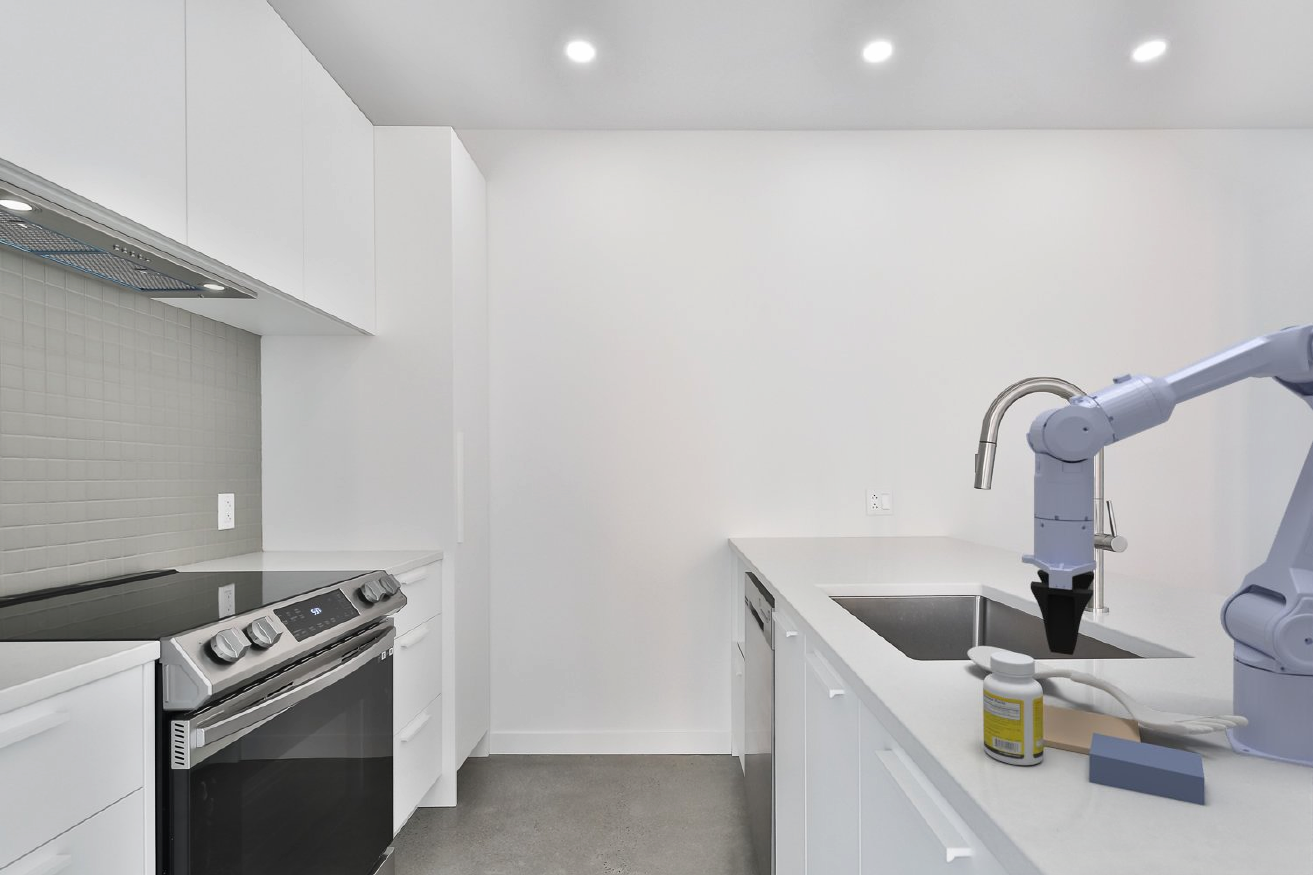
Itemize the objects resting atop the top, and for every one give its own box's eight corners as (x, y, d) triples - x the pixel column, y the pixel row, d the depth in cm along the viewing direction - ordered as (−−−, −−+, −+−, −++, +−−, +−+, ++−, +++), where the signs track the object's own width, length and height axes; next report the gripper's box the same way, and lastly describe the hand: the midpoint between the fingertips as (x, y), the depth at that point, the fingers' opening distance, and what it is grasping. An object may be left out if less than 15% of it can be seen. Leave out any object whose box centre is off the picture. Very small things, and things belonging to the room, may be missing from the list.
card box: (1200, 786, 67) (1200, 754, 67) (1204, 812, 62) (1204, 777, 62) (1093, 763, 72) (1093, 732, 72) (1089, 785, 67) (1089, 753, 67)
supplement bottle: (1024, 742, 75) (1024, 648, 75) (1055, 766, 70) (1055, 665, 70) (973, 743, 75) (973, 649, 75) (999, 767, 70) (1000, 666, 70)
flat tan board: (1137, 725, 80) (1137, 720, 80) (1142, 765, 70) (1142, 758, 70) (997, 701, 87) (997, 696, 87) (985, 733, 78) (985, 728, 78)
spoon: (1185, 759, 69) (1185, 723, 69) (952, 666, 100) (952, 640, 100) (1251, 750, 72) (1251, 715, 72) (1005, 661, 102) (1005, 637, 103)
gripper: (1028, 510, 87) (1027, 623, 87) (1015, 522, 74) (1015, 655, 74) (1097, 513, 83) (1096, 631, 83) (1096, 527, 71) (1095, 666, 71)
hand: (1063, 643), depth 79 cm, fingers open, 7 cm apart
